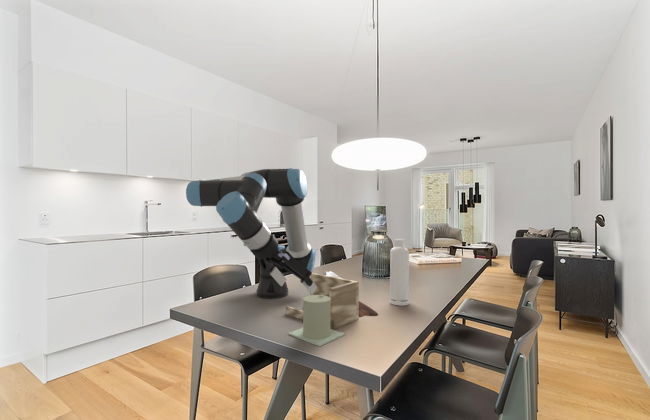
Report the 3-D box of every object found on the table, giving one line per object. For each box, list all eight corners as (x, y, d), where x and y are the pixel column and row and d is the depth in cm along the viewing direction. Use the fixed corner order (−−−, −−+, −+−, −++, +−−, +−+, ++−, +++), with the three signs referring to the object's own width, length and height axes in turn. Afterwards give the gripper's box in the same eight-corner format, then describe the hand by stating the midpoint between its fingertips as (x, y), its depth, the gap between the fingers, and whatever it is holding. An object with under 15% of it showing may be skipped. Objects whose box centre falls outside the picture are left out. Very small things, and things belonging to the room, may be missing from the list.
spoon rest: (350, 291, 164) (350, 277, 164) (328, 293, 160) (328, 278, 160) (334, 281, 187) (334, 268, 186) (314, 282, 183) (314, 270, 183)
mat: (288, 334, 107) (288, 332, 107) (313, 324, 116) (313, 323, 116) (319, 346, 98) (319, 344, 98) (344, 335, 107) (344, 333, 107)
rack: (286, 314, 128) (286, 278, 127) (312, 305, 139) (312, 272, 139) (332, 329, 112) (332, 288, 111) (358, 318, 123) (358, 281, 123)
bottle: (408, 306, 138) (408, 240, 138) (388, 304, 141) (389, 239, 141) (409, 301, 146) (409, 238, 146) (391, 299, 149) (391, 238, 149)
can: (335, 331, 108) (335, 295, 108) (321, 341, 100) (321, 302, 100) (312, 326, 113) (312, 292, 113) (297, 335, 105) (297, 298, 105)
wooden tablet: (334, 297, 150) (355, 293, 152) (335, 301, 150) (355, 297, 152) (355, 315, 124) (379, 310, 127) (356, 321, 124) (380, 316, 127)
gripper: (226, 246, 96) (265, 289, 108) (282, 256, 80) (321, 305, 91) (242, 228, 100) (278, 271, 112) (298, 233, 84) (334, 283, 95)
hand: (298, 286), depth 101 cm, fingers open, 13 cm apart
